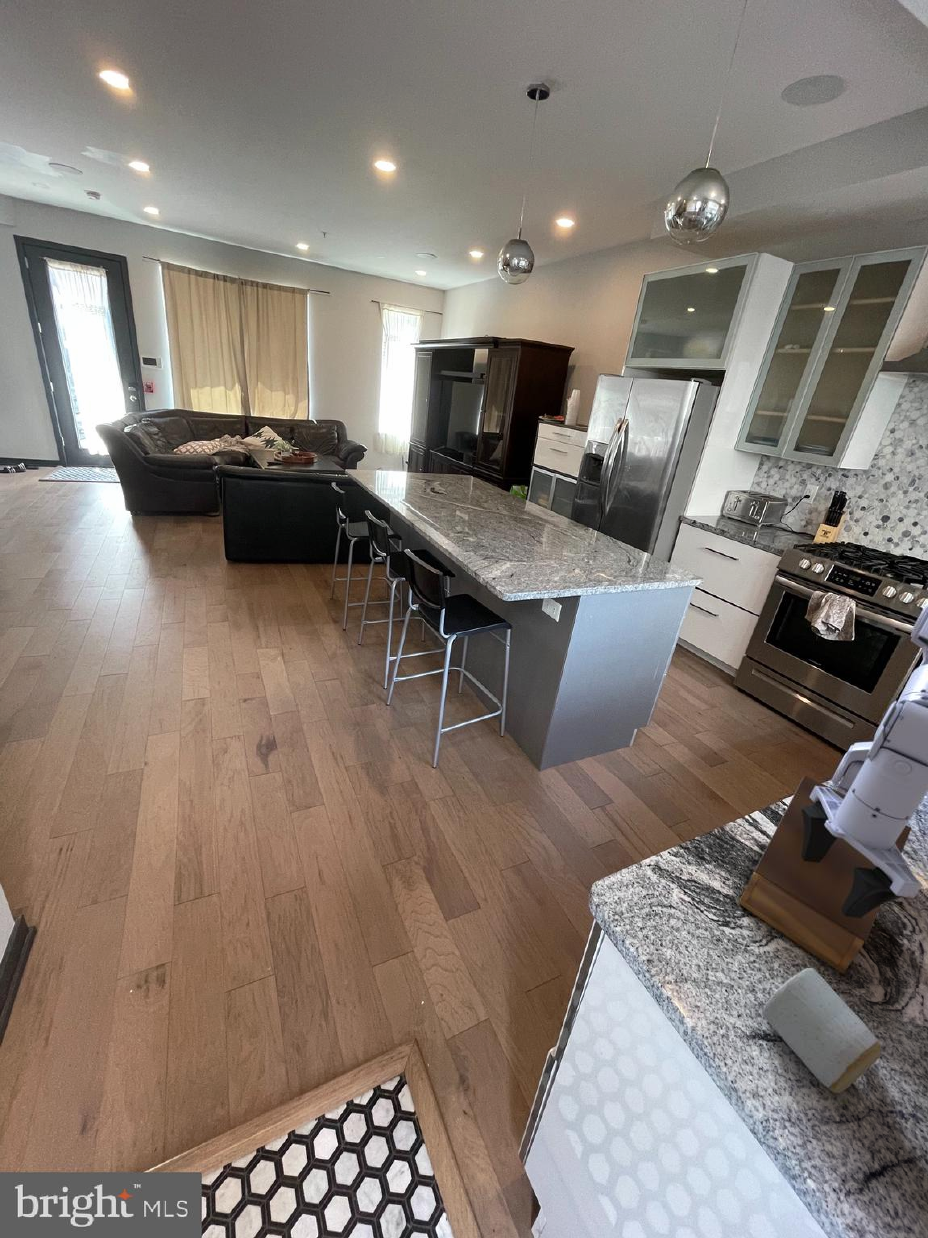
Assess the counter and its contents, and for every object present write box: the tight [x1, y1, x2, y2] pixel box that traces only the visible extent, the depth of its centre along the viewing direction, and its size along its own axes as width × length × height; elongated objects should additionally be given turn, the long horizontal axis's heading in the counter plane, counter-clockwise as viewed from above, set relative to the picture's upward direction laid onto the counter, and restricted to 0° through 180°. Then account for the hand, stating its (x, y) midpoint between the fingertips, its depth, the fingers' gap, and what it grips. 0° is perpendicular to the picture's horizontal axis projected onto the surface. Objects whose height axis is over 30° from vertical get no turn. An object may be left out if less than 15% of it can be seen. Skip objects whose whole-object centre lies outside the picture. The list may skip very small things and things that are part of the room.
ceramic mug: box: [761, 967, 883, 1094], centre depth 54 cm, size 11×8×8 cm
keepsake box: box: [738, 871, 865, 975], centre depth 71 cm, size 16×13×6 cm
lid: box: [753, 774, 912, 942], centre depth 67 cm, size 16×13×1 cm
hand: (829, 885), depth 62 cm, fingers open, 7 cm apart
